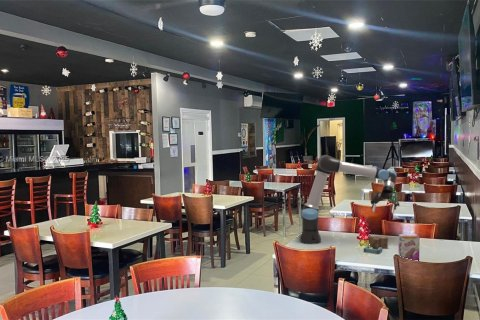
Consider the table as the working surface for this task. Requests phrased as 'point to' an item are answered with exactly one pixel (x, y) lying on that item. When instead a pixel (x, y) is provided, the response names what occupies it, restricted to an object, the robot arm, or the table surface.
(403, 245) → the candy bar box
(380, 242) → the walnut T block
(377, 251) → the teal T socket
